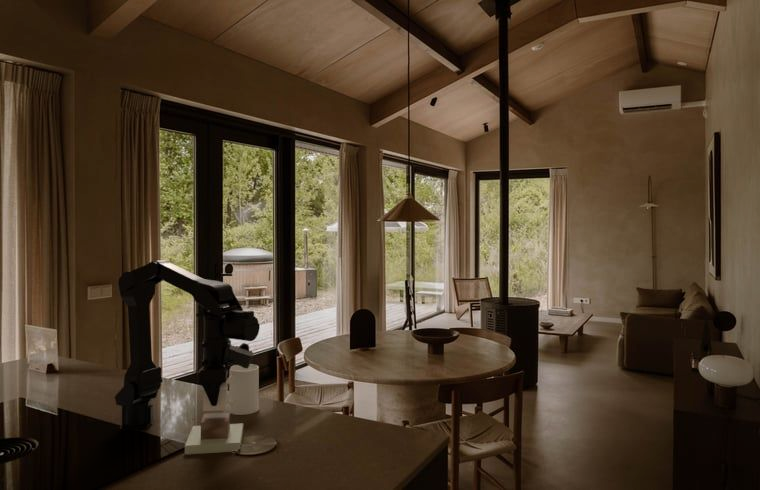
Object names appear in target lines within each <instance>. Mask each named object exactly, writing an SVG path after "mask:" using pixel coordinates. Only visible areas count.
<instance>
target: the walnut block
mask: <svg viewBox="0 0 760 490" xmlns="http://www.w3.org/2000/svg"><path fill="white" fill-rule="evenodd" d="M230 424H231V413H230V412H228V411H226V412H211V413H204V414H203V415H202V418H201V420H200V426H201V440H204V439H222V438H228V434H229V430H230Z"/></svg>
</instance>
